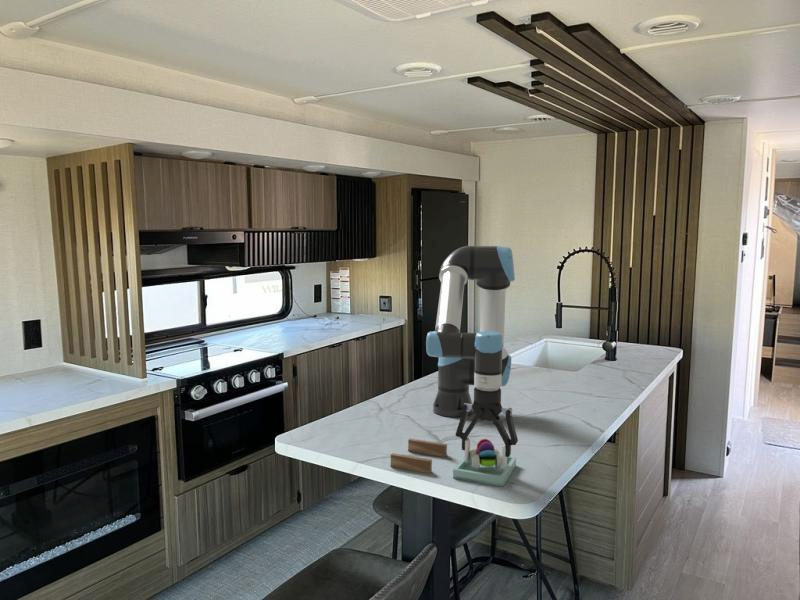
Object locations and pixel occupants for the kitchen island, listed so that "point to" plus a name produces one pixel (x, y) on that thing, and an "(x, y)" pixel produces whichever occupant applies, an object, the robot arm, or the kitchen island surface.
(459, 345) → the robot arm
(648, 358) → the kitchen island surface
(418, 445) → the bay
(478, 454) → the rainbow disc toy
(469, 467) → the tray
